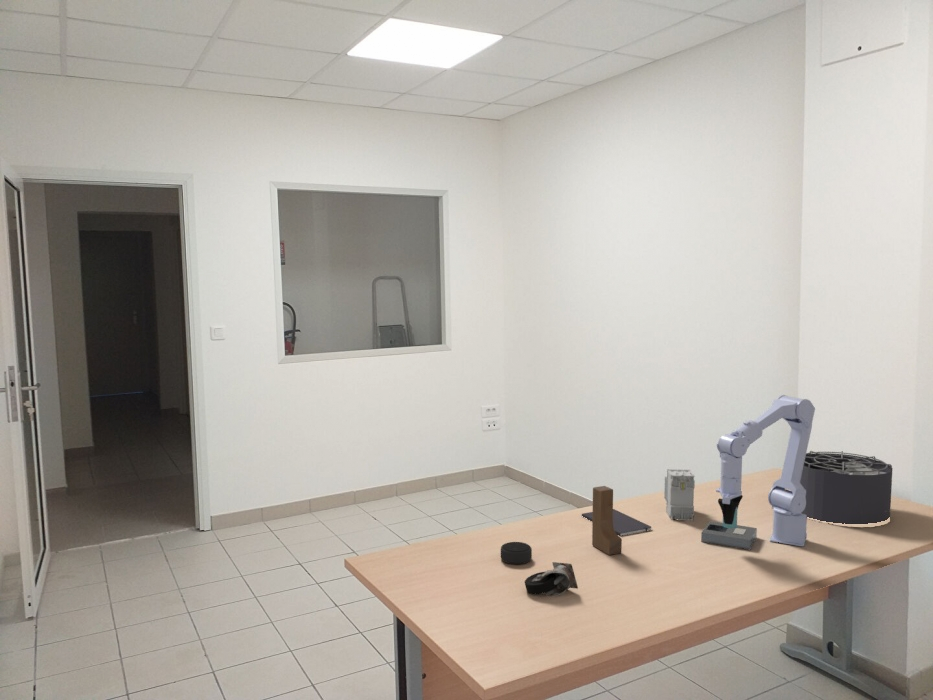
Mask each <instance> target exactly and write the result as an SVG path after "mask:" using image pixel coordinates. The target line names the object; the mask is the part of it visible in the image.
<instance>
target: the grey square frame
mask: <svg viewBox="0 0 933 700" xmlns="http://www.w3.org/2000/svg"><path fill="white" fill-rule="evenodd" d="M722 525H723V522H720V521H715V520H714V521H713V520H709V522H708V523H707V524H706V525H705V527H704V528H703V530H702V531H701V535H700V536H701V537H700V538H701V541H700V542H701V543H705V542H706V543H707V544H713V545H718V546H724V547H731V548H735V547H737V549H741V548H744V549H743V550H747V549H750V548H751V549H752V547H753V545H754V543H755V541H756V539H757V536H758V535H757V532H758V530H757V529H758V528H757V527H753V526H745V525H739V524H737V528H734V529H730V528H725V527H723V526H722ZM706 543H705V544H706ZM751 549H750V550H751Z"/></svg>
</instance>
